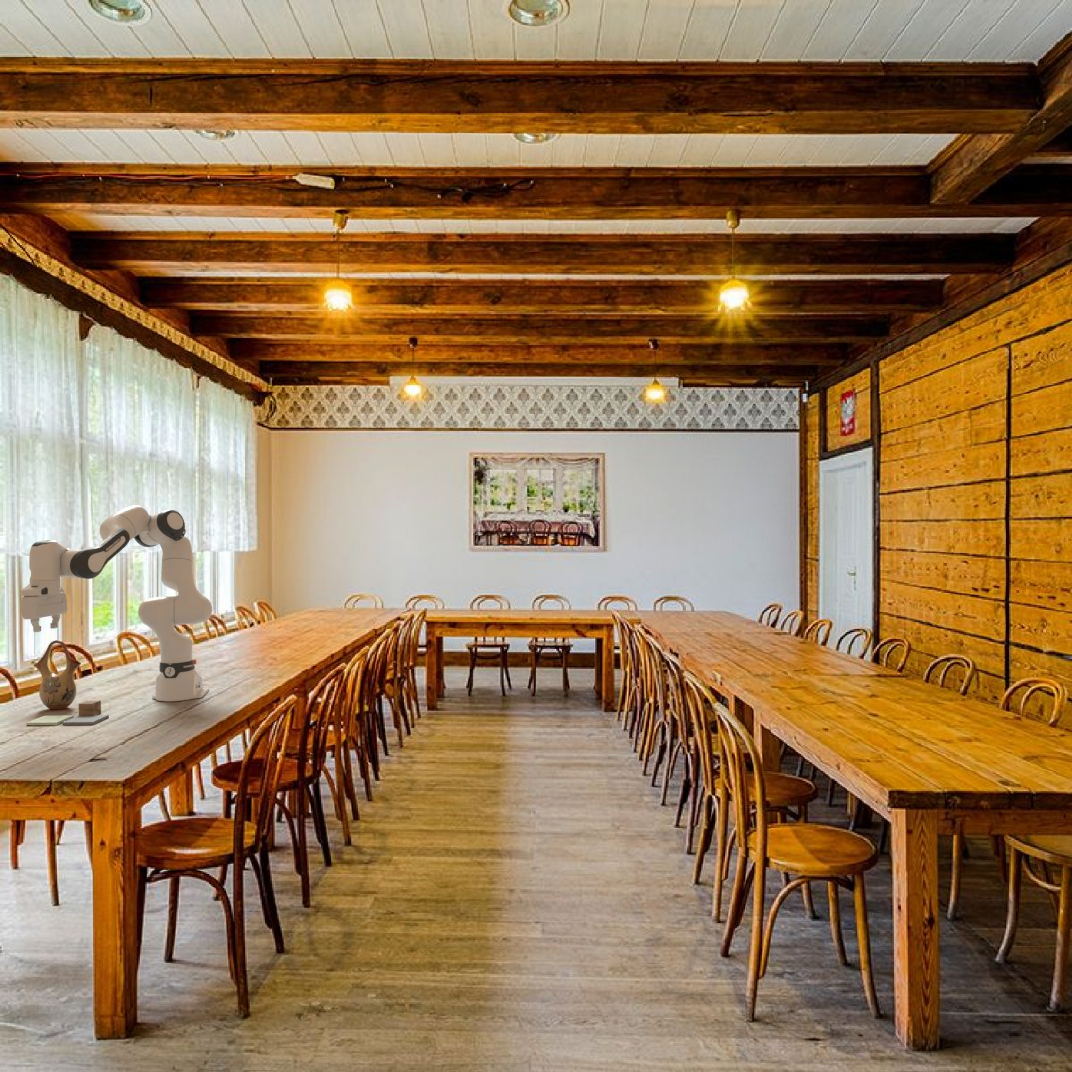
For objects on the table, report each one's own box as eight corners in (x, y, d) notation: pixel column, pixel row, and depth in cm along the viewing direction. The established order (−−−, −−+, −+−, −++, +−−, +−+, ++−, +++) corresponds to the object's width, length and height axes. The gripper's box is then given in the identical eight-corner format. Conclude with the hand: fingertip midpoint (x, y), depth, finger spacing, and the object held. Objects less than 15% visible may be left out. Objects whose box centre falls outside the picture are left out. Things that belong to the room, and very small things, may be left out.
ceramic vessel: (87, 705, 296) (86, 637, 296) (75, 711, 287) (74, 641, 287) (41, 706, 295) (40, 638, 295) (27, 712, 286) (26, 642, 286)
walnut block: (86, 714, 282) (86, 700, 282) (101, 714, 282) (100, 700, 282) (78, 718, 277) (78, 703, 277) (93, 718, 277) (93, 703, 277)
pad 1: (44, 718, 276) (44, 715, 276) (73, 718, 276) (73, 715, 276) (26, 725, 266) (26, 722, 266) (56, 725, 266) (56, 722, 266)
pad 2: (79, 718, 276) (79, 715, 276) (108, 717, 276) (108, 714, 276) (62, 725, 266) (62, 722, 266) (92, 725, 266) (92, 722, 266)
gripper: (54, 586, 279) (54, 626, 279) (16, 591, 259) (17, 634, 259) (72, 586, 279) (72, 626, 279) (36, 590, 259) (37, 633, 259)
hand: (45, 630), depth 269 cm, fingers open, 8 cm apart
